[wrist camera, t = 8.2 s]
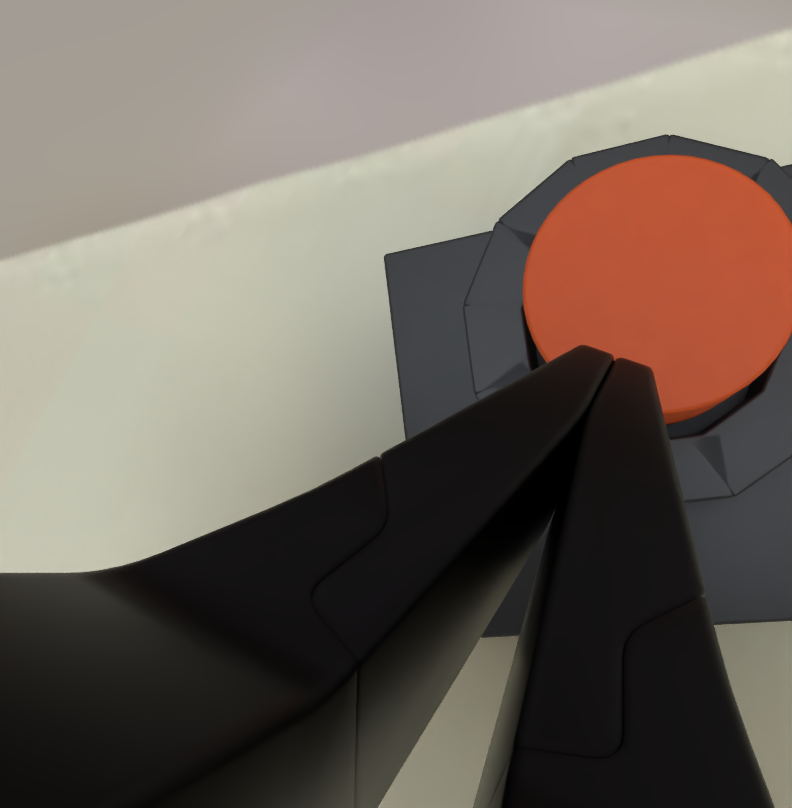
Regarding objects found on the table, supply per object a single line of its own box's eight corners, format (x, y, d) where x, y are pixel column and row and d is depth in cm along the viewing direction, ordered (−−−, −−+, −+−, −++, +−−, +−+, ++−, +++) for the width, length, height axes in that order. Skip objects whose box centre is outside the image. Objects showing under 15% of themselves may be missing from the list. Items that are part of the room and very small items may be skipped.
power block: (933, 578, 16) (1087, 631, 11) (463, 609, 19) (405, 663, 14) (850, 186, 17) (954, 62, 12) (421, 275, 20) (353, 209, 15)
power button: (781, 409, 13) (831, 392, 10) (557, 439, 14) (540, 431, 11) (741, 199, 13) (777, 122, 10) (528, 244, 14) (505, 187, 11)
